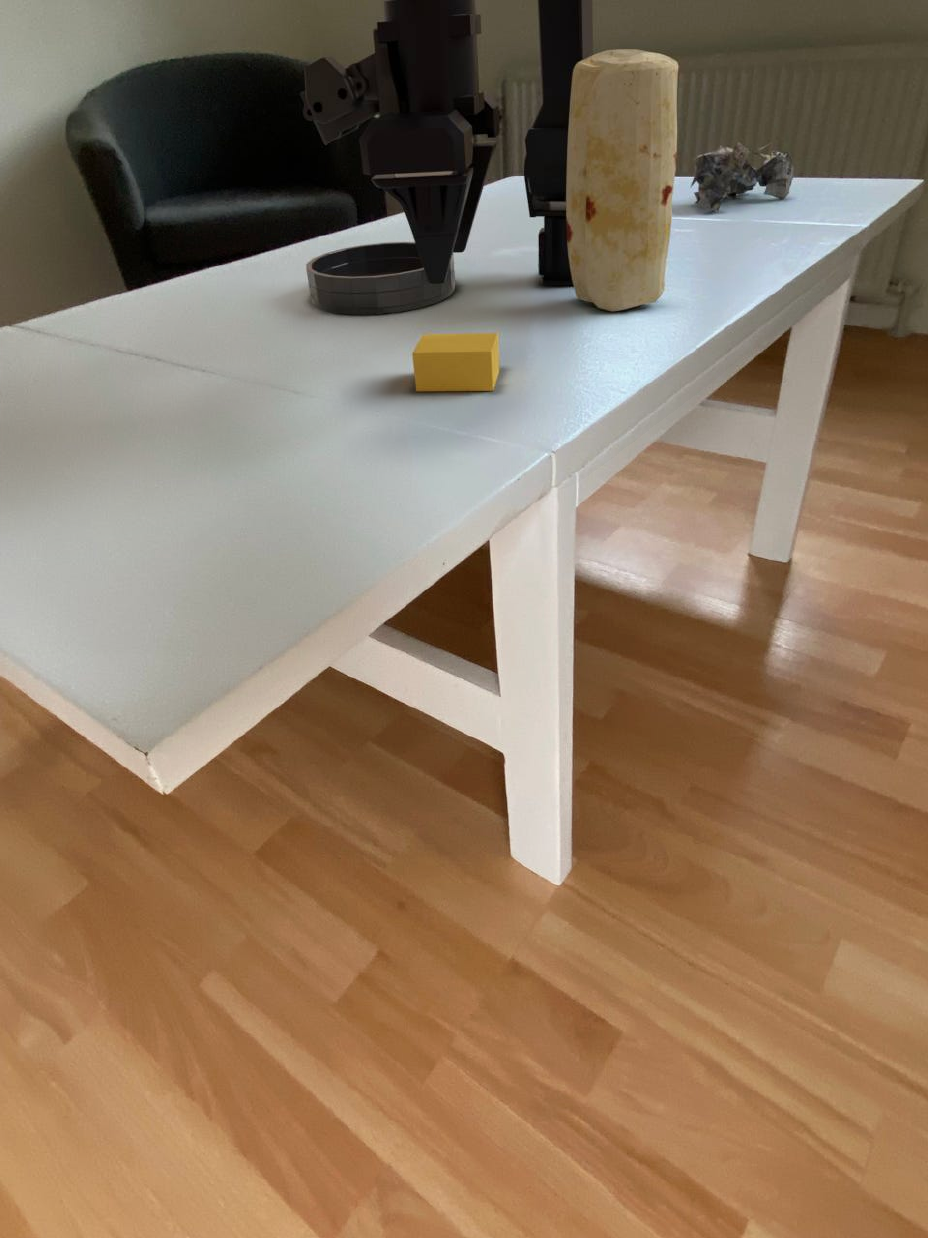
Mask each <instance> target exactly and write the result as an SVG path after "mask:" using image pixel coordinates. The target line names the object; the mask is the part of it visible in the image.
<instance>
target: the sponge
mask: <svg viewBox="0 0 928 1238" xmlns="http://www.w3.org/2000/svg"><path fill="white" fill-rule="evenodd" d="M499 345H500V344H499V333H498V332H481V333H478V332H477V333H474V332H473V333H434V334H433V333H432V334H422V335H421V337H420V339H419V341H418V342H417V344H416V346H415V347H414V350H413V351H412V353H411V355H412V364H413V374H414V383H415V392H491V391H492V392H493V391H494V389H495V386H496V383H497V379H498V377H499V374H500V346H499Z"/></svg>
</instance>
